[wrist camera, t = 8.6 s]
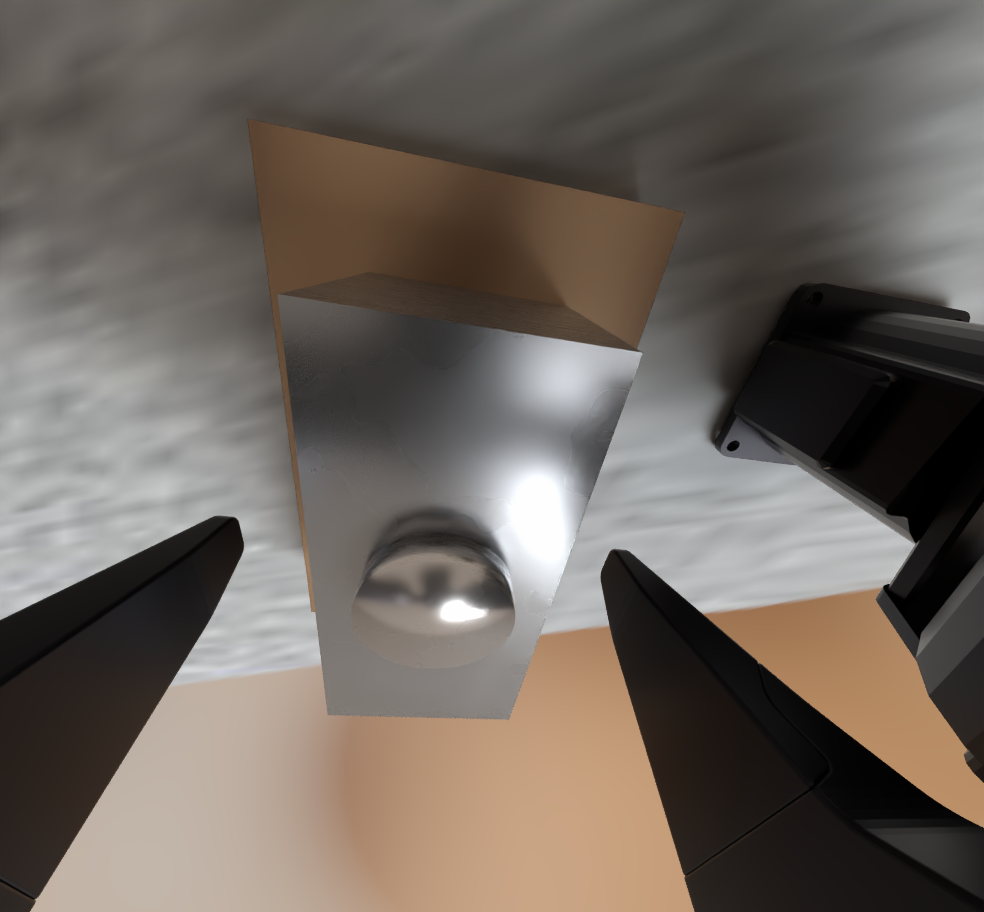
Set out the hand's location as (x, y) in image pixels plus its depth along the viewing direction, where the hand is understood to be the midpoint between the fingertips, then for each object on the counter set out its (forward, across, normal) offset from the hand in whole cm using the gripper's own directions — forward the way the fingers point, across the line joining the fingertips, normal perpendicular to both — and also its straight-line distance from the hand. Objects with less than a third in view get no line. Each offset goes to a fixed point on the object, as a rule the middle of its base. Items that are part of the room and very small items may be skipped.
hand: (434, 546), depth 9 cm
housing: (+4, 0, 0) cm, 4 cm away
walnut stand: (+6, 0, 0) cm, 6 cm away
